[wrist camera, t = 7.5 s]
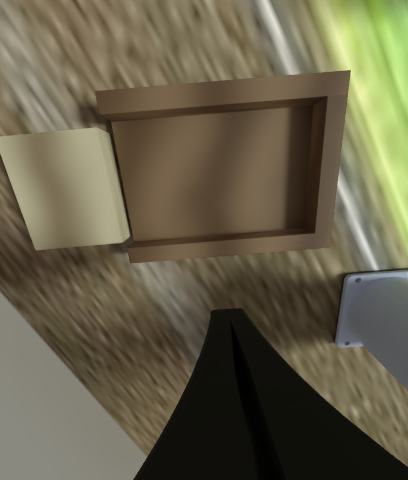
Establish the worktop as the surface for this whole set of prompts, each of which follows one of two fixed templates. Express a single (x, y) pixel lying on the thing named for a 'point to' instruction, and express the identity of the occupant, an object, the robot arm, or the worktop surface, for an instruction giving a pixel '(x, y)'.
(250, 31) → the worktop surface
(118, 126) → the walnut box
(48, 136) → the beige rectangular block
